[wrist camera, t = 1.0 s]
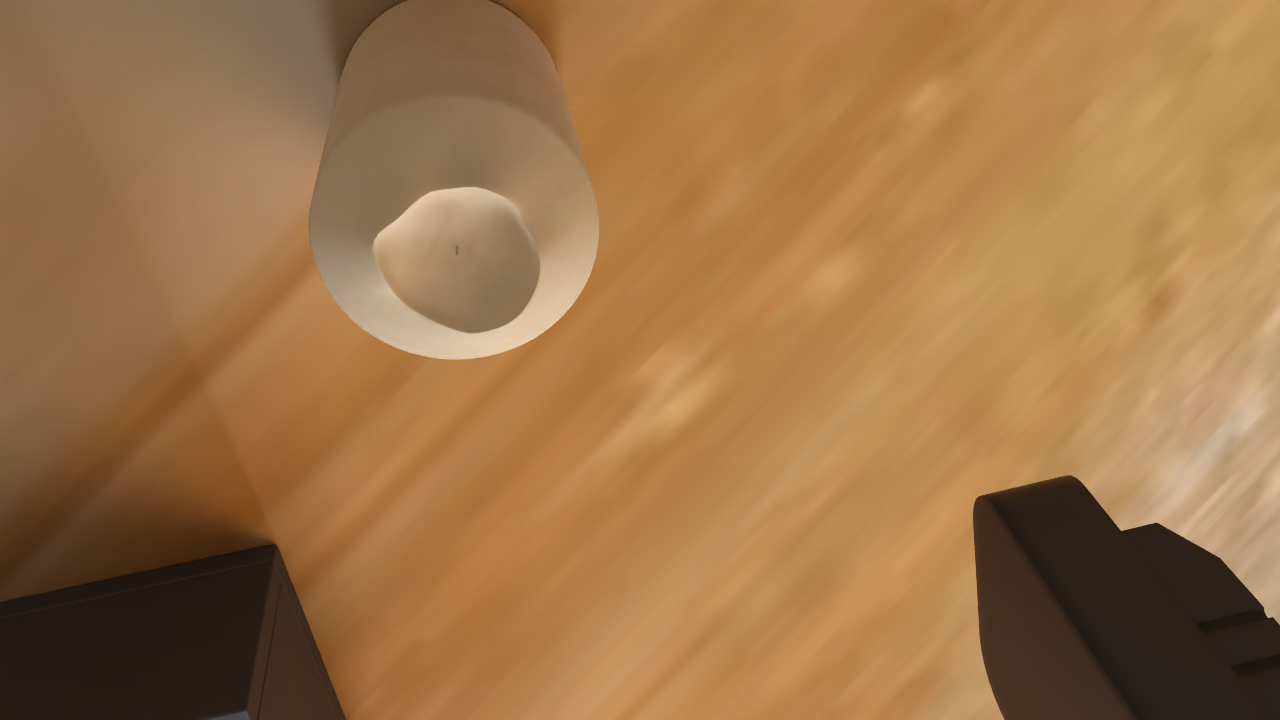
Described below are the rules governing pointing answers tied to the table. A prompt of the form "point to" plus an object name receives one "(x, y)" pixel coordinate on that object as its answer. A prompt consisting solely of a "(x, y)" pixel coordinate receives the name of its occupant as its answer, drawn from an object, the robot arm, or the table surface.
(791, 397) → the table surface
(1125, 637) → the robot arm
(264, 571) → the bin
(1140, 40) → the table surface
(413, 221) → the candle
